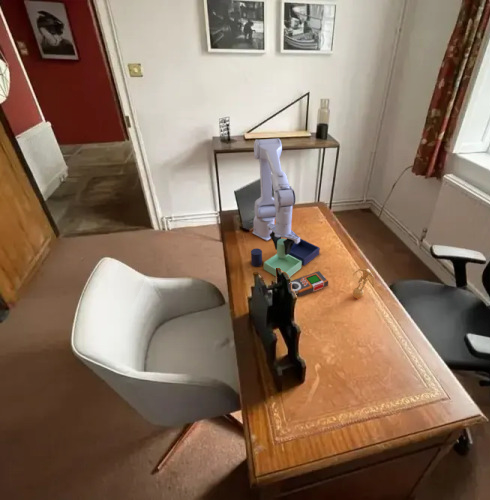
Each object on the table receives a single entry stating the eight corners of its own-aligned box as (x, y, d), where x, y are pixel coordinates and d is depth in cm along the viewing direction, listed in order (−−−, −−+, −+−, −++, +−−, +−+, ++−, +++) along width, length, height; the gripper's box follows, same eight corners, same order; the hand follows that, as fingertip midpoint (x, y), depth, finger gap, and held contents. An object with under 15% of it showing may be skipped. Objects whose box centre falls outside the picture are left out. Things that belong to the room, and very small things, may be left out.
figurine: (344, 293, 116) (349, 268, 109) (353, 286, 119) (359, 261, 112) (364, 305, 111) (370, 280, 104) (373, 297, 115) (380, 272, 108)
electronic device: (285, 282, 116) (319, 269, 122) (285, 288, 118) (319, 275, 123) (293, 294, 112) (329, 280, 117) (293, 299, 113) (328, 286, 119)
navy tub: (283, 255, 134) (284, 248, 132) (299, 244, 140) (299, 238, 138) (303, 266, 128) (304, 259, 126) (319, 254, 135) (319, 247, 133)
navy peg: (249, 263, 129) (248, 251, 125) (256, 258, 131) (256, 247, 128) (256, 268, 126) (256, 256, 123) (264, 263, 129) (264, 251, 126)
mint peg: (274, 254, 123) (274, 241, 119) (281, 249, 126) (282, 237, 122) (283, 259, 121) (283, 246, 117) (290, 254, 123) (291, 241, 120)
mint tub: (263, 269, 126) (263, 262, 124) (281, 257, 133) (281, 250, 131) (284, 281, 120) (284, 274, 118) (301, 268, 127) (301, 261, 125)
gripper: (261, 217, 115) (261, 248, 123) (292, 232, 108) (290, 263, 116) (274, 210, 120) (273, 240, 128) (304, 224, 112) (302, 255, 120)
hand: (282, 251), depth 122 cm, fingers closed on mint peg, 4 cm apart
